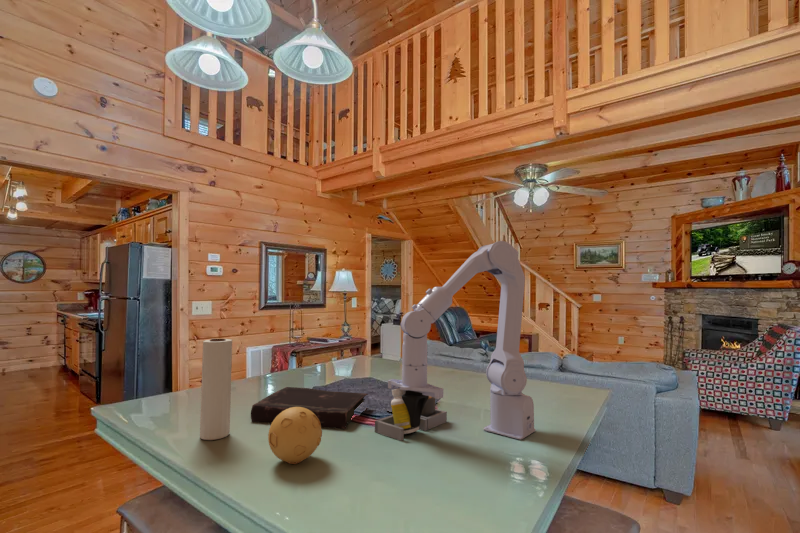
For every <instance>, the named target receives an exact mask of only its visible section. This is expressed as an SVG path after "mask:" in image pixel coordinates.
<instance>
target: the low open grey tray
mask: <svg viewBox="0 0 800 533" xmlns="http://www.w3.org/2000/svg"><path fill="white" fill-rule="evenodd" d="M447 413H448V412H447V411H445V410H442V409H438V408H436V398H435V397H431V396H429V398H428V400H427V401H426V403H425V405H424V408H423V410H422V413H421V417H420V426H419V430H420V431H423V432H426V431H429V430H430V429H433V428H436V427H438V426H440V425H443V424H445V423H447V422H448V417H447V416H448V415H447ZM374 433H377V434H379V435H382V436H386V437H388V438H391V439H394V440H398V441H400V442H401V441H404V438H405V437H404V436H405V434H404V428H401V427H398V426H395V424H394V418H393V414H390V415H388V416H386V417H383V418H379V419H376V420H374Z"/></svg>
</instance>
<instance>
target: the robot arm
mask: <svg viewBox="0 0 800 533" xmlns="http://www.w3.org/2000/svg"><path fill="white" fill-rule="evenodd" d="M483 272H488V273H489V274H491V275H493V277H495V278H496V280H497V281H498V282H499V283H500V285H501V287H500V297H499V310H498V320H497V330H496V331H497V332H496V342H495V349H494V350H493V352H492V353H491V354H490V355H491V356H490V361H489V363H488V365H487V367H486V370H485V376H486V379H487V381H488V382H489V383H490V387H489V390H490V391H489V394H490V397H489V398H490V400H489V401H490V402H489V404H490V408H489V409H490V424H488V425H486V426H484V427H483V431H486V432H489V433H493V434H498V435H502V436H504V437H509V438H513V439H515V440H523V439H525V438H527V437H529V435H531V434H533V433H534V432H536V428H535V411H534V410H535V405H534V400H533V397H531V396H530V395H526V394H524V393H523V391H524V389H525V387H527V386H526V385H527V381H528V378H527V375H526V372H525V361H524V359H523V356H522V355H521V353H520V342H521V334H522V332H521V331H522V320H523V318H522V317H523V308H524V307H523V306H524V298H525V297H524V295H525V285H526V284H525V283H526V277H525V273H524V270H523V267H522V264H521V263H520V260H519V251H518V250H517V249H516V248H515V247H514V246H513V245H512V244H510V243H509V242H508V241H505V240H498V241H495V242H494V243H490V244H485V245H482V246H479V248H478V249H477V251H475V252H473V253H472V254H471V255H470V256H469V257H468V258H467V259H466V260H465V261H464V263H462V264H461V265H460V267H459V268H457V270H456V271H455V272H454V273H452V275H451V276H450V277H449V279H448V280H447V281H446V282H445V283H444V284H443V285H442V286H434V287H433V288H428V289H427V290H426V291H425V295H424V297H423V298H422V299H421V300H420V301H419V302H418V303H417V304H413V305H412V306H411V309H412V310H411V311H408V312H406V313H405V314H404V315H403V316H402V318H401V322H400V324H399V325H400V329H401V331H402V342H403V343H402V346H401V348H402V349H401V350H402V354H401V355H402V356H401V359H402V360H401V379H396V378H391V379H388V380H387V389H391V390H393V389H399V388H400V389H401V390H404V391H406V393H405V394H404V395H402V399H403V401H404V403H405V405H406V407H407V410H408V413H409V417H410V425H411V427H417V426H420V417H421V413H422V410H423V408H424V405H425V403H426V401H427V400H428V398H429V396H431V397H435V400H439V399H442V398H444V388H443V387H439V386H437V385H436V386H435V385H433V384H430V383H428V334H429V333H430V331H431V328H432V324H434V323H435V322H436V321H437V320H439V318H440V317H441V316H442V315H443V314H444V313H445V312H446V311H447V310H448V309H449V308H450V307H451V306H452V304H453V296H454V295H455V294H456V293H457V292H458V291H460V290H461V289H462V288H463V287H464V286H465V285H466V284H467V283H468V282H469V281H470V280H471V279H472V278H474V276H475V275H477V274H479V273H483Z"/></svg>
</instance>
